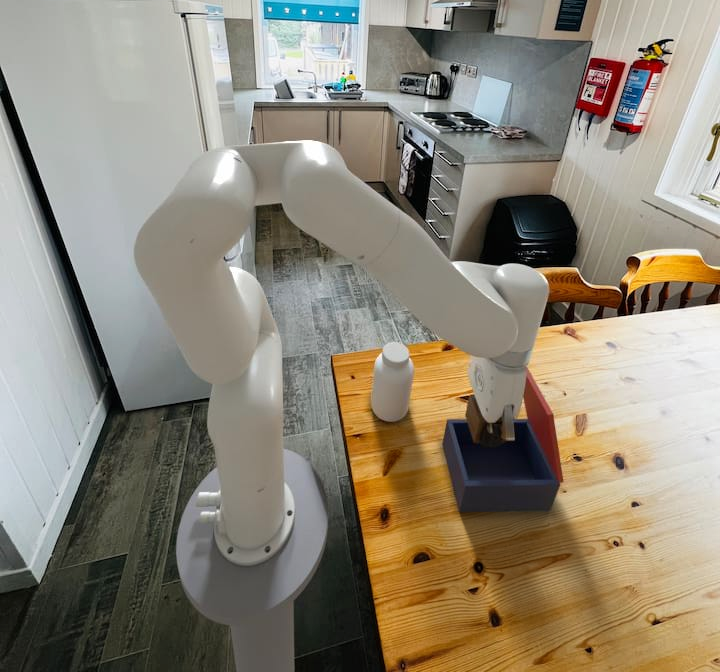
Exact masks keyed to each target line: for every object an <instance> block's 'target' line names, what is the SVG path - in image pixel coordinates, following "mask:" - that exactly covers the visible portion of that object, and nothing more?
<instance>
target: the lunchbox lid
mask: <svg viewBox="0 0 720 672" xmlns="http://www.w3.org/2000/svg"><path fill="white" fill-rule="evenodd" d="M526 368H527V373H526V382H525V389H524V395H523V402H524V409H525V413H526V419H528V420H529V422H530V424H531V427H532V429H533V431H534V433H535V435H536V437H537V439H538V441H539V443H540V445H541V447H542V449H543V451H544V454H545V456H546V458H547V460H548V462H549V464H550V466H551V468H552V470H553V472H554V474H555V476H556V478H557V480H558V483H560V484H563V483H564V482H565V481H564V476H563V470H562V463H561V455H560V449H559V442H558V436H557V430H556V422H555V417H554V412H553V411H552V409H551V407H550V406H549V404H548V402H547V400H546V398H545V396H544V394H543V393H542V391H541V389H540V387H539V386H538V383H537V382H536V380H535V379H534V376H533V375H532V373H531V372H530V371H531V370H529V367H528V365H527V366H526Z"/></svg>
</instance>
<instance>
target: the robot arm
mask: <svg viewBox="0 0 720 672" xmlns="http://www.w3.org/2000/svg"><path fill="white" fill-rule="evenodd" d="M277 204H281V205H282V209H283V211H284V213H285V215H286V217H287V218H288V219H289V221H291V223H292V224H293V225H295V226H296V227H297V228H298V229H299V230H301V231H303V232H304V233H306V234H307V235H309V236H310V237H313V238H314V239H315V240H317V241H318V242H320V243H321V244H323V245H325V246H326V247H327V248H330V249H331V250H333V251H334V252H336V253H337V254H339V255H341V256H342V257H344V258H345V259H347V260H348V261H350V262H352V263H354V264H355V265H356V266H358V267H359V268H360V269H362V270H364V271H365V272H366V273H368V274H370V275H371V276H372V277H374V278H375V279H377V281H378V282H379V283H380V284H381V285H382V286H383V287H384V288H385V289H386V290H387V291H388V293H390V294H391V295H392V296H393V297H394V298H395V299H396V300H397V301H398V302H399V303H400V304H401V305H402V306H404V308H406V309H407V310H408V311H409V312H410V313H411V314H412V315H413V316H414V317H415V318H416V319H417V320H418V321H419V322H420V323H421V324H422V325H424V326H425V327H426V328H427V329H428V330H429V331H431V332H432V333H433V334H434V335H436V336H437V337H438V338H440V339H441V340H443V341H444V342H446V343H448V344H449V345H451V346H452V347H454V348H456V349H457V350H459V351H461V352H462V353H465V354H466V355H469V356H470V360H469V364H468V368H467V378H468V381H469V384H470V386H471V389H472V392H473V394H474V395H475V398H476V401H477V403H478V406H479V408H480V411H481V413H482V416H483V417H484V419H485V420H486V421H487V426H484V429H483V433H482V437H481V441H480V443H481V446H483V447H487V446H490V447H497V446H500V445H501V443H502V440H503V439H504V440H505V441H514V440H515V436H514V424H513V422H515V421H516V419H518V417H519V414H520V412H521V409H522V404H523V401H524V398H523V395H524V389H525V382H526V373H527V368H528V366H529V364H530V361H531V358H532V355H533V351H534V348H535V344H536V341H537V338H538V334H539V330H540V327H541V323H542V320H543V317H544V313H545V310H546V306H547V302H548V299H549V294H550V284H549V281H548V279H547V278H546V277H545V275H544V274H543V273H541V272H540V271H538V270H537V269H535V268H533V267H531V266H528V265H525V264H520V263H505V264H502V265H493V264H492V265H491V264H484V263H477V262H473V261H465V260H463V261H461V260H459V261H457V260H456V261H451V260H450V259H449V258H448V257H447V256H446V255H445V254H444V252H443V250H441V249H440V247H439V246H438V245H437V243H436V242H435V240H434V239H432V237H431V236H430V235H429V234H428V233H427V231H425V229H424V228H423V227H422V226H421V225H420V224H419V223H418V222H417V221H416V220H414V219H413V218H412V217H411V216H409V214H407V213H406V212H405V211H403V210H401V209H400V208H399V207H397V206H396V205H395V204H394V203H392V202H391V201H389V200H388V199H387V198H385V196H382V194H380V193H379V192H377V191H376V190H374V189H373V188H372V187H371V186H370V185H368V184H367V183H366V182H364V181H363V180H362V179H361V178H359V177H358V176H356V175H355V174H354V173H352V172H351V171H350V170H349V169H348V167H347V165H346V162H345V160H344V158H343V156H342V155H341V154H340V152H339V151H338V150H337V149H336V148H335V147H334V146H332V145H330V144H328V143H325V142H322V141H315V140H296V141H295V140H294V141H293V140H292V141H281V142H268V143H253V144H252V143H251V144H237V145H227V146H226V145H225V146H220V147H215V148H213V149H209V150H207V151H205V152H203V153H202V154H200V155H199V156H197V158H196V159H194V161H192V163H191V164H190V165H189V167H188V169H187V170H186V172H185V173H184V175H183V176H182V177H181V179H180V180H179V181H178V182H177V184H176V185H175V187H174V189H172V191H171V192H170V194H169V195H168V196H167V197H166V198H165V199H164V200H163V202H162V203H161V204H160V205H159V206H158V207H157V208H156V209H155V210H154V211H153V213H151V215H150V216H149V217H147V219H146V220H145V221H144V223H143V225H142V226H141V227H140V229H139V231H138V232H137V236H136V239H135V242H134V246H133V259H134V264H135V267H136V270H137V272H138V274H139V276H140V277H141V279H142V282H143V283H144V284H145V286H146V287H147V289H148V290H149V292H150V294H151V295H152V298H153V299H154V300H155V303H156V304H157V306H158V309H159V310H160V313H161V315H162V317H163V320H164V321H165V322H164V323H166V325H167V328H168V329H169V331H170V333H171V335H172V337H173V339H174V341H175V343H176V344H177V346H178V349H179V350H180V352H181V355H182V356H183V358H184V360H185V362H186V364H187V365H188V367H189V368H190V370H191V371H192V373H194V375H196V376H197V378H199V379H201V380H202V381H204V382H206V383H209V384H211V385H212V386H211V391H210V395H209V402H208V409H207V417H206V425H207V427H206V428H207V432H208V436H209V439H210V441H211V443H212V446H213V450H214V455H215V456H214V457H215V461H216V462H215V463H216V467H217V470H218V478H219V486H220V490H219V492H216V493H211V492H199V494H198V497H197V502H196V506H197V507H208V506H216V509H217V511H216V512H210V511H202V512H201V514H200V519H199V522H200V523H208V522H214V535H215V540H216V544H217V546H218V549H219V550H220V552H221V553H222V555H223V556H224V557H225V558H226V559H227V560H228V561H230V562H232V563H234V564H237V565H242V566H252V565H256V564H260V563H262V562H264V561H266V560H268V559H269V558H271V557H272V556H273V555H275V554H276V553H277V552H278V551H279V550H280V549H281V548H282V546H283V545H284V543H285V542H286V540H287V539H288V537H289V535H290V532H291V530H292V527H293V523H294V517H295V505H294V498H293V495H292V492H291V490H290V489H289V487H288V486H287V484H286V483H285V482H284V449H285V448H284V446H285V445H284V375H283V344H282V338H281V335H280V332H279V329H278V325H277V324H276V321H275V318H274V315H273V313H272V310H271V307H270V304H269V302H268V299H267V297H266V294H265V291H264V289H263V286H262V285H261V284H260V282H259V280H258V279H257V278H256V277H255V276H254V275H253V274H251V273H250V272H249V271H246V270H244V269H242V268H239V267H236V266H229V265H228V263H227V261H226V260H225V259H224V257H225V256H226V255H227V254H228V253H229V252H231V250H232V249H233V248H234V247H235V246H236V245H237V244H238V243H239V242H240V241H241V239H242V238H243V237H244V235H245V234H246V232H247V231H248V229H249V227H250V226H251V225H250V224H251V222H252V220H253V216H254V209H255V206H257V207H258V206H266V205H277ZM526 366H527V368H526ZM498 419H501V424H494V423H495V422H496V421H497V420H498ZM289 515H291V516H289ZM267 551H269V552H268V553H266V552H267ZM230 552H232V553H231V554H229V553H230Z"/></svg>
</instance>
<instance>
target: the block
mask: <svg viewBox="0 0 720 672" xmlns="http://www.w3.org/2000/svg"><path fill="white" fill-rule="evenodd" d="M467 401H468V402H467V405H466V410H465V419H467V422H468V426H469V429H470V432H471V435H472V438H473V441H474V443H480V441H481V437H482V433H483V429H484V426H487V421H486V420H485V419H484V417H483V416H482V413H481V411H480V408H479V406H478V403H477V401H476V398H475V395H474V393H471V394H470V393H469V396H468V400H467ZM494 424H501V419H498V420H497V421H496V422H495V423H494ZM504 442H505V440H504V439H503V440H502V443H504Z"/></svg>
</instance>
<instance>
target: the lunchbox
mask: <svg viewBox="0 0 720 672" xmlns="http://www.w3.org/2000/svg"><path fill="white" fill-rule="evenodd" d="M445 423H446V424H445V428H444V433H443V437H442V449H443V453H444V457H445V461H446V465H447V469H448V473H449V478H450V481H451V486H452V489H453V494H454V497H455V498H454V499H455V501H456V506H457V511H458V513H489V512H490V513H491V512H492V513H493V512H494V513H496V512H500V513H501V512H546V511H547V512H549V511H551V510H552V507H553V505H554V503H555V500H556V497H557V495H558V493H559V489H560V487H561V483H558V480H557V478H556V476H555V474H554V472H553V470H552V468H551V466H550V464H549V462H548V460H547V458H546V456H545V454H544V451H543V449H542V447H541V445H540V443H539V441H538V439H537V437H536V435H535V433H534V431H533V429H532V427H531V424H530V422H529V420H528V418H517V419H516V421H515V422H513V424H514V436H515V440H514V441H505V442H504V443H501V445H500V446H497V447H490V446H487V447H483V446H481V443H474V441H473V438H472V435H471V432H470V429H469V426H468V422H467V419H466V418H455V419H454V418H447V419H446V422H445Z"/></svg>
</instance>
